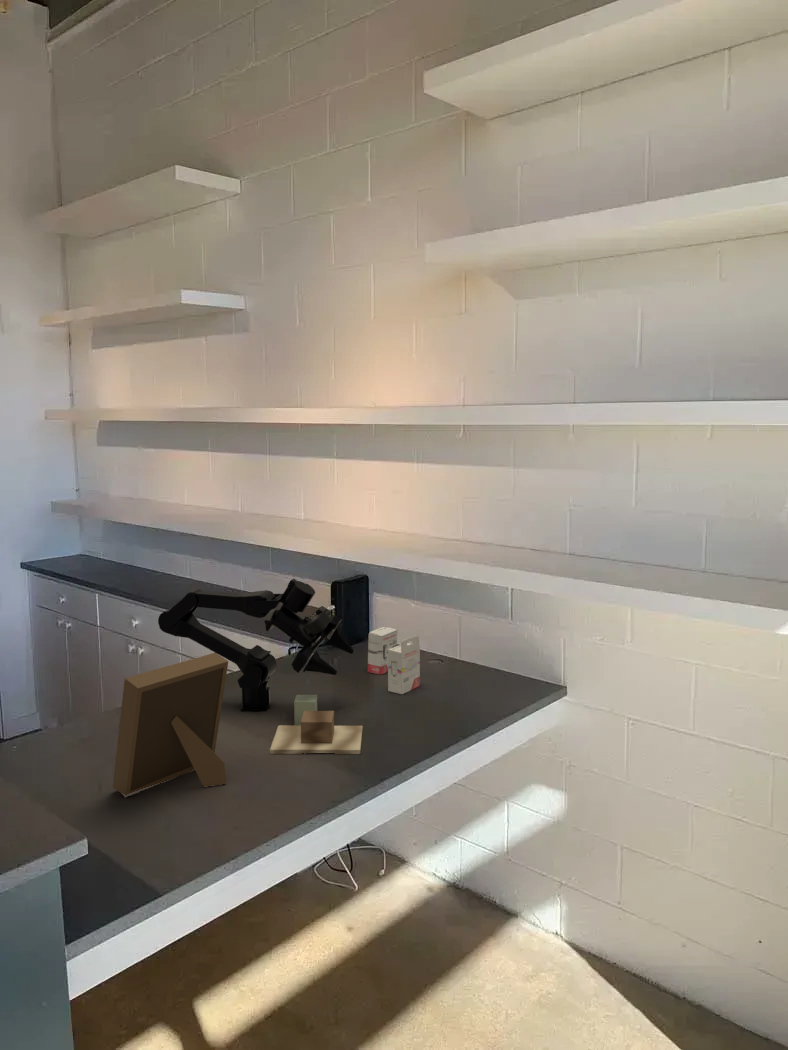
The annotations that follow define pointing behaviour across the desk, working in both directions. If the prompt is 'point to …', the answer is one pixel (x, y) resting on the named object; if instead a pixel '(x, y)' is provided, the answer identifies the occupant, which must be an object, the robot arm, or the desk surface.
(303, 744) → the base plate
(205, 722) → the photo frame
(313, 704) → the sage block
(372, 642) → the ink box
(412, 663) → the ink cartridge box
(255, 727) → the desk surface
